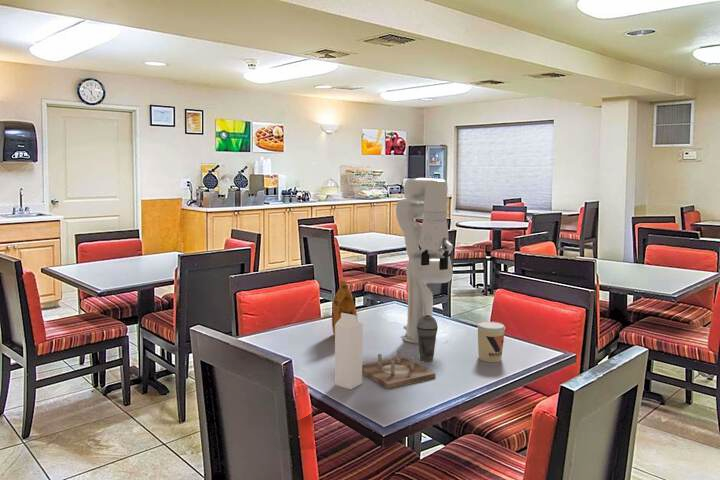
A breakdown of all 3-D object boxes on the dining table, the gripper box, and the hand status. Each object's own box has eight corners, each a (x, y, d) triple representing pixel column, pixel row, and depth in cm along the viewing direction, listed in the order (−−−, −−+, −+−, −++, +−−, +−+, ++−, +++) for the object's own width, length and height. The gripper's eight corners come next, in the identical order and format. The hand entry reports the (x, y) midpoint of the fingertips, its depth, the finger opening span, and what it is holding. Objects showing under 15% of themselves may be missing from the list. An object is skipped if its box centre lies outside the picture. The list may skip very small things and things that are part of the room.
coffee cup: (488, 364, 192) (489, 330, 190) (470, 356, 200) (471, 323, 198) (509, 360, 196) (511, 326, 194) (491, 352, 204) (492, 320, 203)
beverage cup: (436, 364, 192) (437, 306, 189) (414, 362, 193) (415, 304, 191) (437, 357, 199) (439, 301, 196) (417, 355, 200) (418, 300, 198)
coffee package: (332, 343, 214) (332, 285, 211) (331, 333, 226) (331, 279, 224) (359, 342, 215) (359, 285, 212) (356, 333, 227) (356, 278, 224)
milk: (346, 379, 178) (347, 310, 175) (362, 384, 174) (363, 313, 171) (334, 385, 173) (334, 314, 170) (350, 390, 169) (350, 317, 166)
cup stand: (357, 370, 185) (357, 352, 185) (402, 361, 195) (402, 344, 194) (387, 388, 170) (388, 369, 169) (435, 377, 179) (435, 359, 179)
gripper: (410, 215, 196) (409, 264, 198) (443, 219, 181) (442, 272, 183) (427, 214, 199) (426, 262, 202) (461, 218, 185) (459, 270, 187)
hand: (434, 267), depth 192 cm, fingers open, 9 cm apart
